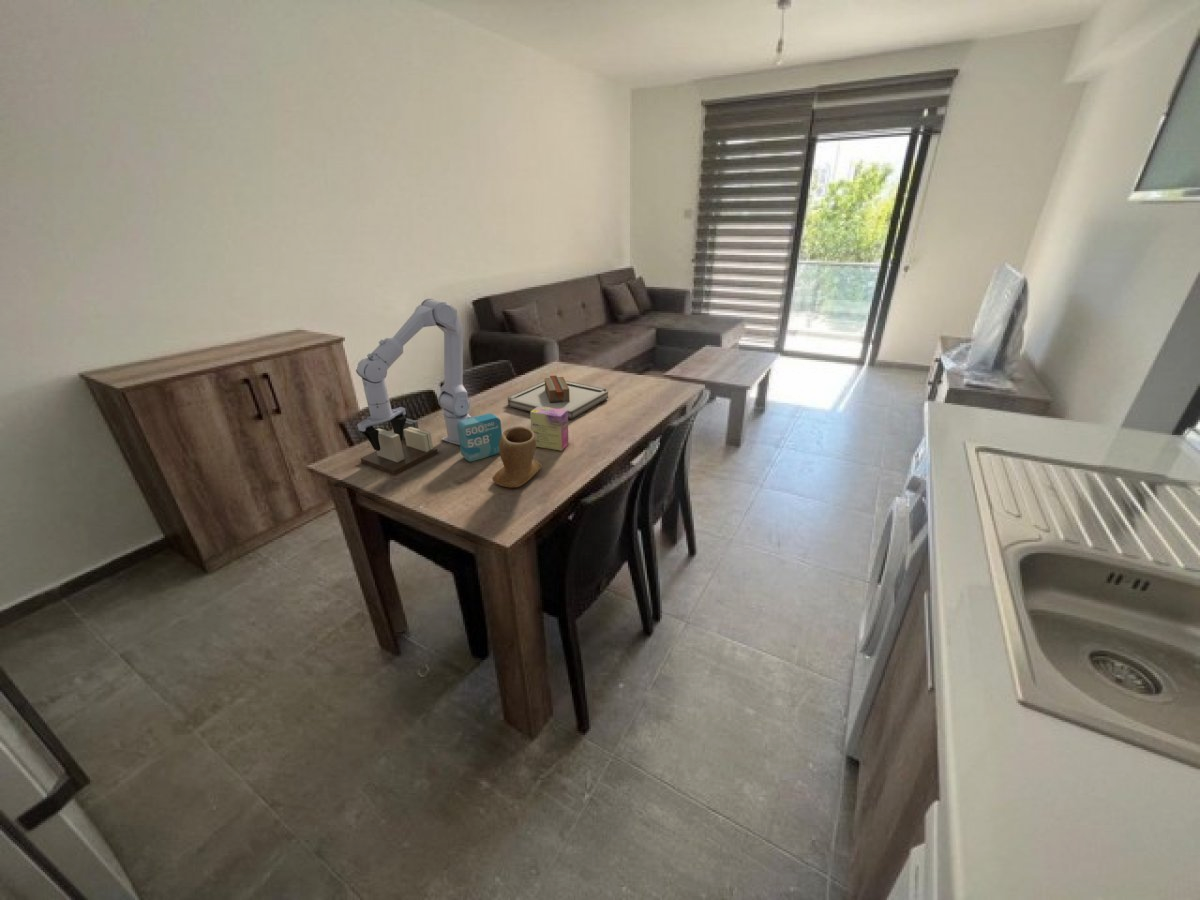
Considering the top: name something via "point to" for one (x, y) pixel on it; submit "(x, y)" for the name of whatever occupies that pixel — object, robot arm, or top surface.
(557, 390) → the grey square tray
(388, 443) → the white book
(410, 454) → the shelf board
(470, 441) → the data package
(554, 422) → the box
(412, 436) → the cream books
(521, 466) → the stone cup
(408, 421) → the grey books
